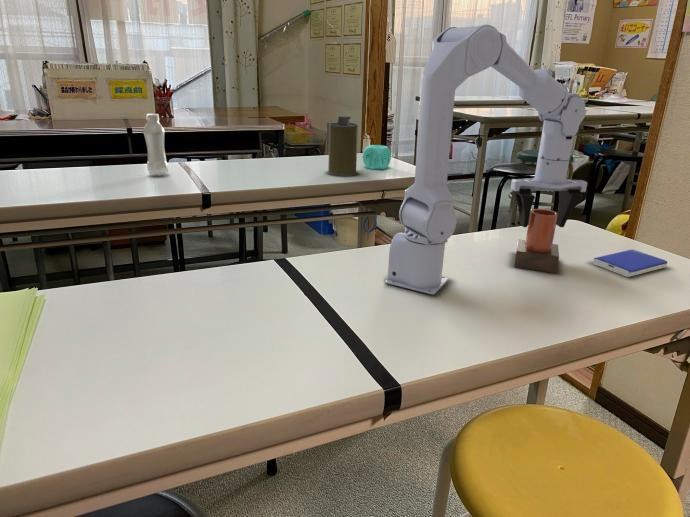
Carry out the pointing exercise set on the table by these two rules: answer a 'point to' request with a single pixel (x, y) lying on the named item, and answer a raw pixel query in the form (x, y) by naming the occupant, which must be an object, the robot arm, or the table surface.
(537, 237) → the cup
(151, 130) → the plastic bottle
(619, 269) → the hard drive
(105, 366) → the table surface
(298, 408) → the table surface
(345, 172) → the canister
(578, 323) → the table surface
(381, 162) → the decorative dice
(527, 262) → the block
